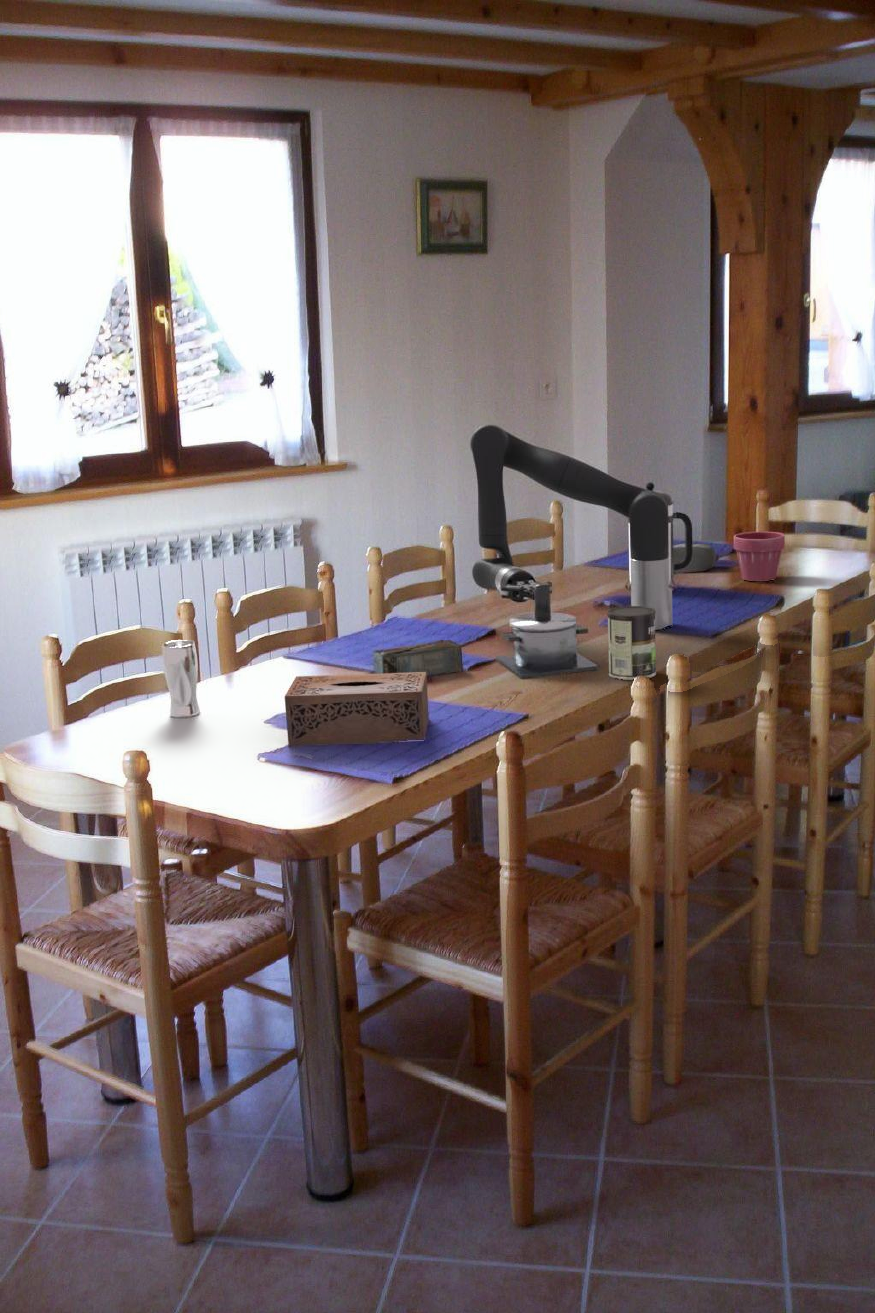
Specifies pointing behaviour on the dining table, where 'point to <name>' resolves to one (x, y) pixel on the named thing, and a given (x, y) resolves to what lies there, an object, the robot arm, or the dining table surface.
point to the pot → (545, 653)
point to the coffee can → (631, 642)
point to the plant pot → (759, 554)
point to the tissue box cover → (357, 708)
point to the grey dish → (695, 557)
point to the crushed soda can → (181, 677)
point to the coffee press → (671, 537)
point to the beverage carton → (420, 658)
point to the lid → (542, 614)
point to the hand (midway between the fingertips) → (539, 596)
